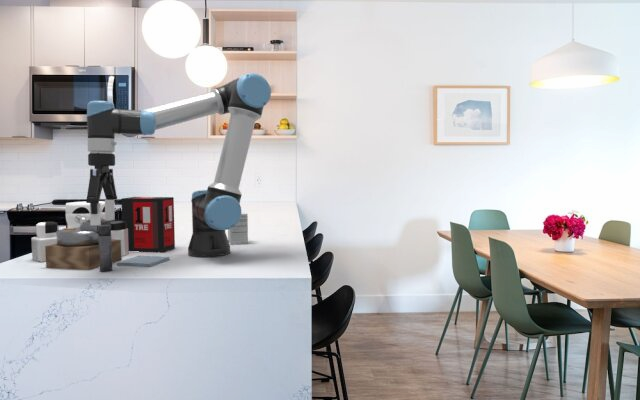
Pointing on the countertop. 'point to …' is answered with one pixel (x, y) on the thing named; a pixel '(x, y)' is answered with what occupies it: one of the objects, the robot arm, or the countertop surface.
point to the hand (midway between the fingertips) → (103, 222)
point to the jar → (120, 235)
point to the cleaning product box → (149, 223)
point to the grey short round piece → (80, 234)
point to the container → (43, 239)
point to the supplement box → (239, 231)
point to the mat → (143, 261)
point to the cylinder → (105, 248)
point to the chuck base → (78, 256)
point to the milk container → (80, 213)
